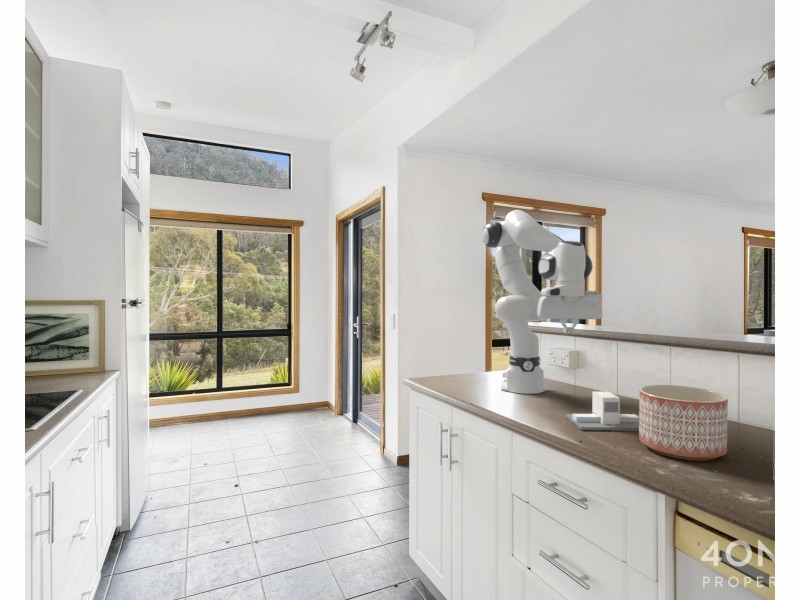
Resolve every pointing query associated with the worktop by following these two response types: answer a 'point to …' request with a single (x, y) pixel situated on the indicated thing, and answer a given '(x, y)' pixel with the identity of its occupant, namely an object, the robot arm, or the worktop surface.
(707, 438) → the planter
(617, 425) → the rail panel
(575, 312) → the robot arm
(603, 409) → the block
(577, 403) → the worktop surface
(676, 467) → the worktop surface
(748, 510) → the worktop surface
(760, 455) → the worktop surface
